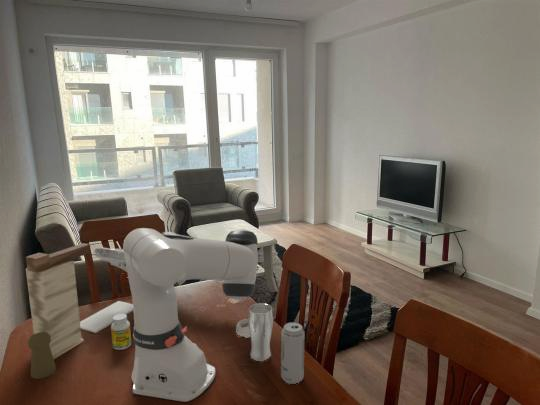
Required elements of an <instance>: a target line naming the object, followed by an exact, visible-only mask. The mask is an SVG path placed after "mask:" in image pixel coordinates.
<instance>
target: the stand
mask: <svg viewBox="0 0 540 405" xmlns="http://www.w3.org/2000/svg"><path fill="white" fill-rule="evenodd" d="M25 275H26V282H27V290H28V298H29V306H30V313H31V322H32V331H33V335H34V334H36V333H39V332H47V333H48V334H49V335H50V336H51V342H50V344H49V345H50V349H51V352H52V356H53V359H54V360H55V359H57V358H58V357H60V356H62V355H63V354H65V353H67V352H68V351H70V350H72V349H73V348H75V347H76V346H78V345H80V344H81V343H83V342H84V338H82V331H81V330H82V329H81V328H80V321H81V320H80V319H81V318H80V309H79V299H78V291H77V279H76V271H75V262H74V260H69V261H66V262H63V263H60V264H58V265H55V266H52V267H50V268H49V269H46V270H43V271H41V272H38V273H36V272H32V271H28V270H27V268H25Z"/></svg>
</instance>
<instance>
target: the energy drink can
mask: <svg viewBox="0 0 540 405" xmlns="http://www.w3.org/2000/svg"><path fill="white" fill-rule="evenodd" d="M305 334H306V332H305V331H304V329H303V325H301V324H300V323H298V322H295V321H293V322H292V321H291V322H287V323H285V324H284V325H283V329H282V330H281V337H280V338H281V339H280V340H281V341H280V343H281V344H280V345H281V346H280V349H281V350H280V377H281V379H282V380H283V382H284V381H285V382H286V384H287V383H288V384H287V385H290V384H296V383H298V384H300V383H301V382H302V380H303V379H304V374H305V372H304V371H305V340H306V338H305ZM300 381H301V382H300ZM285 382H284V383H285ZM299 382H300V383H299ZM296 385H297V384H296Z"/></svg>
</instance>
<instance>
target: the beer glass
mask: <svg viewBox="0 0 540 405" xmlns="http://www.w3.org/2000/svg"><path fill="white" fill-rule="evenodd" d="M273 317H274V316H273V307H272V306H271V305H270V304H267V303H263V302H262V303H255V304H251V305H250V306H249V307H248V318H247V319H248V324H249V332H250V338H249V339H250V341H251V344H250V345H251V350H250V353H249V356H251V357H250V359H251V358H252V359H254V360H256V361H264V360H266V359H268V358H269V357H270V356H271V357H272V353H271V346H270V345H271V344H270V343H271V338H272V334H273V333H272V332H273V328H274V327H273V325H274V324H273V323H274V318H273ZM248 324H247V325H248ZM252 359H251V360H252ZM254 360H253V361H254ZM256 361H255V362H256Z"/></svg>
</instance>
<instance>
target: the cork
mask: <svg viewBox="0 0 540 405" xmlns="http://www.w3.org/2000/svg"><path fill="white" fill-rule="evenodd" d="M50 342H51V336H50V335H49V334H48V333H47V332H39V333H36V334H34V333H33V334H32V335H31V336H30V337H29V339H28V341H27V344H28V347H29V348H30V349H31V355H30V359H31V360H30V377H31V378H32V379H34V380H35V379H38V380H40V379H44V378H48V377H49V376H51V375H52V374H54V373H55V372H56V370H57V367H56V363H55V361H54V360H55V359H53V356H52V352H51V349H50V345H49V344H50Z"/></svg>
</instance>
